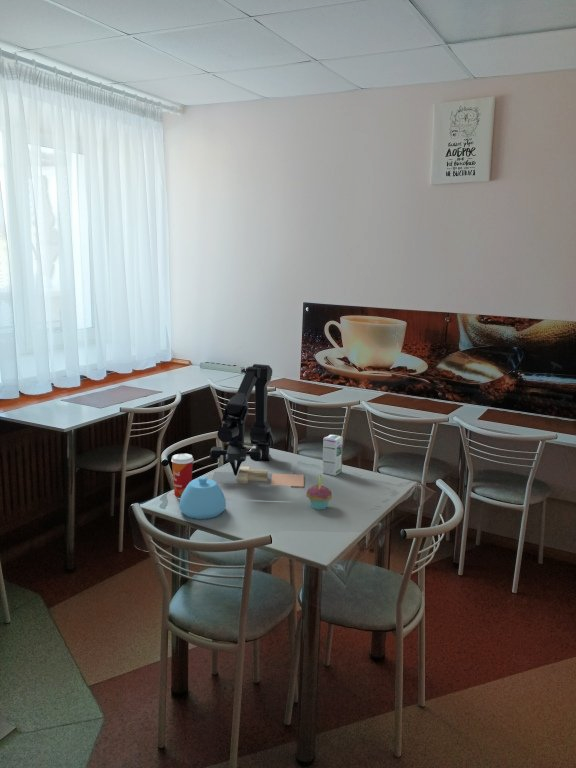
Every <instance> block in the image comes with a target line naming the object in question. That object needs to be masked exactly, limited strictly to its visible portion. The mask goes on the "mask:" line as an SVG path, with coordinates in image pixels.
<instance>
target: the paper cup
mask: <svg viewBox="0 0 576 768" xmlns="http://www.w3.org/2000/svg"><path fill="white" fill-rule="evenodd" d="M170 461H171V462H172V463H171V464H172V465H171V466H172V481H173V493H174V495H175V496H176V497H177V498H178V499H181V495H182V493H183V491H184V490H185V488H186V487H187V485H188V484H189V483H190V482H191V481H193V465H194V464H193V463H194V461H195V460H194V457H193V455H192V454H189V453H177V454H174V455H172V456H171V460H170Z"/></svg>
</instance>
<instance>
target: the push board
mask: <svg viewBox="0 0 576 768" xmlns="http://www.w3.org/2000/svg"><path fill="white" fill-rule="evenodd" d="M213 472H214V473H213V475H212V477H211V480H214V481H215V482H216V483H217V484H224V485H251V486H252V485H255V486H278V487H279V486H280V487H281V486H283V487H285V486H286V487H287V486H288V487H290V488H304V487H305V485H304V484H305V483H304V482H305V479H304V478H305V475H304V474H296V473H295V474H292V473H291V474H289V473H288V474H287V473H268V479H267V481H253V480H248V483H238V473H239V472H238V473H237V476H235V475H234V472H231V471H213Z"/></svg>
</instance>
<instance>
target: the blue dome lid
mask: <svg viewBox="0 0 576 768" xmlns="http://www.w3.org/2000/svg"><path fill="white" fill-rule="evenodd" d="M179 499H180V500H179V504H178V505H179V510H180V511H181V513H182V514H184V515H185V516H186V517H188V518H190V519H194V518H195V519H196V520H208V519H212V518H216V517H218V516H220V515H221V514H222V513H223V512H224V510H226V506H227V502H226V497H225V494H224V492H223V490H222V488H221V487H220V485H219V483H216V482H215V481H214V480H212V478H211V479H210V478H208V477H207V476H199V477H198V478H197V479H192V481H191V482H190V483H189V484H188V485H187V487H186V488H185V490H184V491H183V493H182V495H181V498H179ZM207 518H208V519H207Z"/></svg>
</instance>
